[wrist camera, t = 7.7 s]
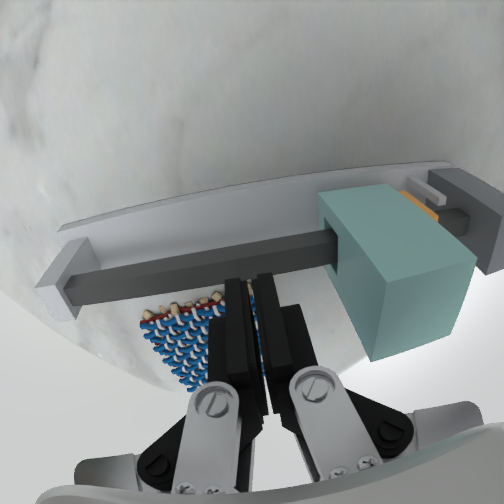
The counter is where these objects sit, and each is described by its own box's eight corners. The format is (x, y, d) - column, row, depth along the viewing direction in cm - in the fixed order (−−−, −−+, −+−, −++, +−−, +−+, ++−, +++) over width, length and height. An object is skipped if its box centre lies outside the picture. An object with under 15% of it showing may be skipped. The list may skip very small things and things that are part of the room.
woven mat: (296, 356, 27) (300, 373, 25) (190, 380, 27) (190, 396, 25) (270, 269, 21) (274, 287, 19) (137, 306, 22) (132, 324, 20)
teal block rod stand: (450, 160, 17) (530, 207, 10) (445, 210, 19) (513, 267, 12) (62, 225, 17) (2, 302, 10) (84, 273, 19) (42, 357, 12)
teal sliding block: (387, 183, 14) (477, 257, 8) (382, 246, 17) (450, 334, 10) (317, 192, 14) (387, 282, 8) (320, 259, 17) (370, 362, 10)
